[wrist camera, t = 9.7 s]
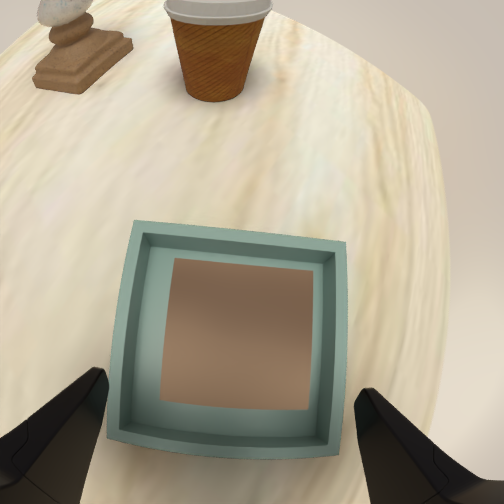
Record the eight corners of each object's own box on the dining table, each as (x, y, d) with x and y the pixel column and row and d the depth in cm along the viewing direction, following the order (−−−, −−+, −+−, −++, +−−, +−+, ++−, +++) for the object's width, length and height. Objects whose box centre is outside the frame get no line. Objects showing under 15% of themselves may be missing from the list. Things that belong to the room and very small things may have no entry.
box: (320, 441, 17) (338, 455, 14) (123, 426, 16) (106, 438, 13) (328, 258, 22) (345, 242, 19) (145, 240, 21) (134, 220, 18)
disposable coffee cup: (162, 74, 28) (154, -15, 17) (237, 57, 30) (247, -25, 19) (185, 123, 26) (178, 12, 14) (273, 101, 28) (296, 3, 17)
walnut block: (265, 384, 18) (308, 409, 9) (188, 378, 17) (159, 400, 8) (270, 310, 19) (313, 270, 11) (195, 304, 19) (174, 257, 10)
